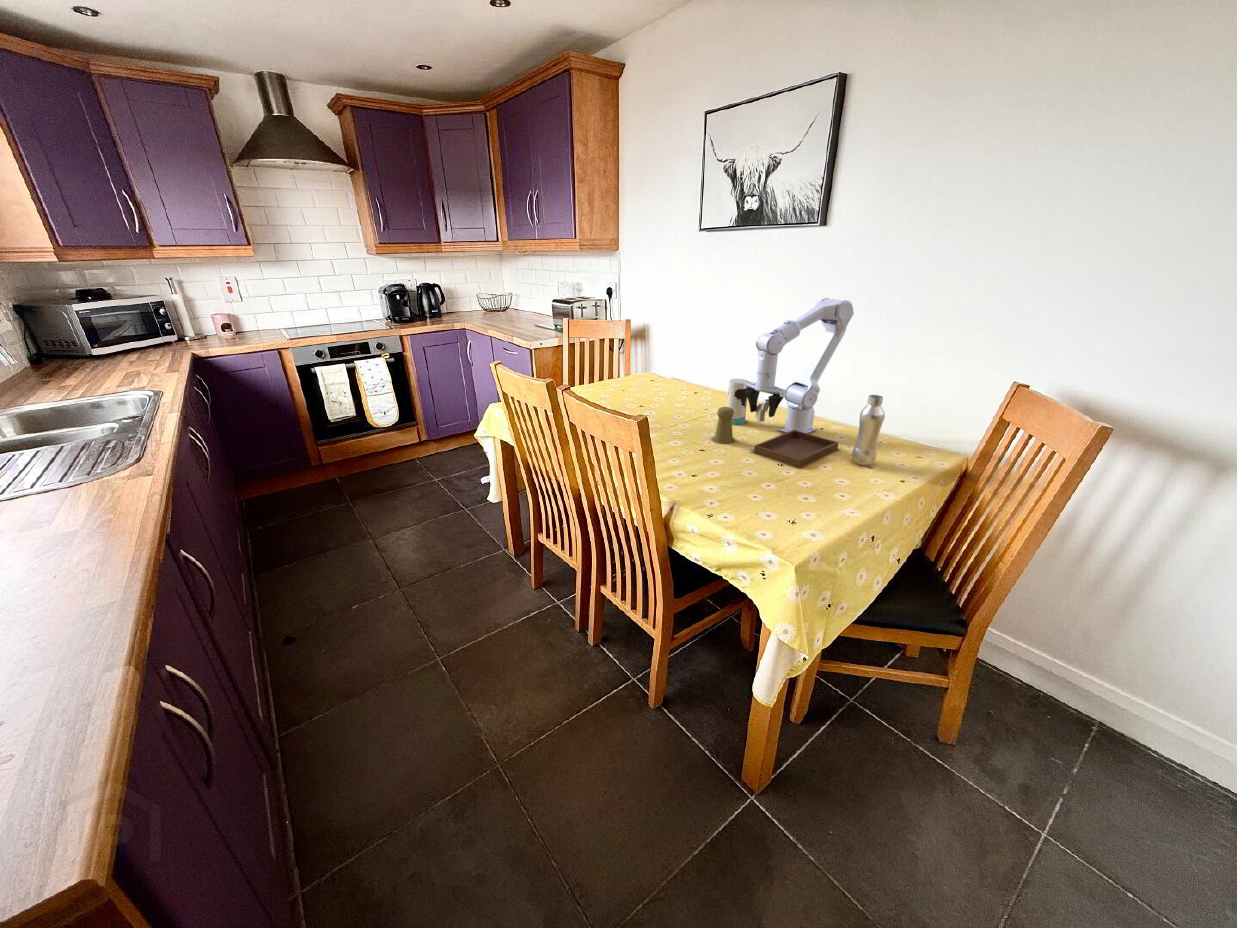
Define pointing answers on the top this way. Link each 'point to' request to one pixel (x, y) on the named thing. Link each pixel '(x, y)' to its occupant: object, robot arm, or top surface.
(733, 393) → the cup
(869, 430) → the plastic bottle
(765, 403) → the lighter
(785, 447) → the tray
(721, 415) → the pawn
